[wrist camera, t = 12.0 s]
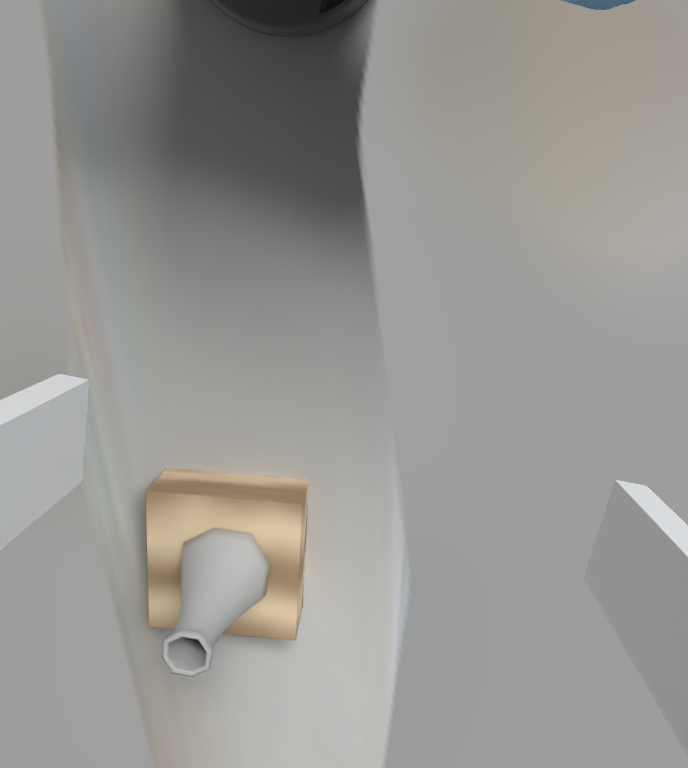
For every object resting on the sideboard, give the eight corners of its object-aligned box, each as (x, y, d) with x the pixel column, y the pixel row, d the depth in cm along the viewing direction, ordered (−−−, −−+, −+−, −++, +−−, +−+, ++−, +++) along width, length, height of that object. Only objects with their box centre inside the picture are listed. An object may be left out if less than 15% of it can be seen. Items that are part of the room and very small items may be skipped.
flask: (170, 531, 46) (115, 611, 36) (261, 519, 45) (229, 597, 36) (192, 612, 48) (145, 709, 38) (280, 601, 47) (254, 697, 37)
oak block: (168, 466, 50) (145, 491, 45) (309, 477, 50) (302, 504, 45) (170, 590, 53) (149, 626, 48) (303, 602, 53) (295, 640, 48)
